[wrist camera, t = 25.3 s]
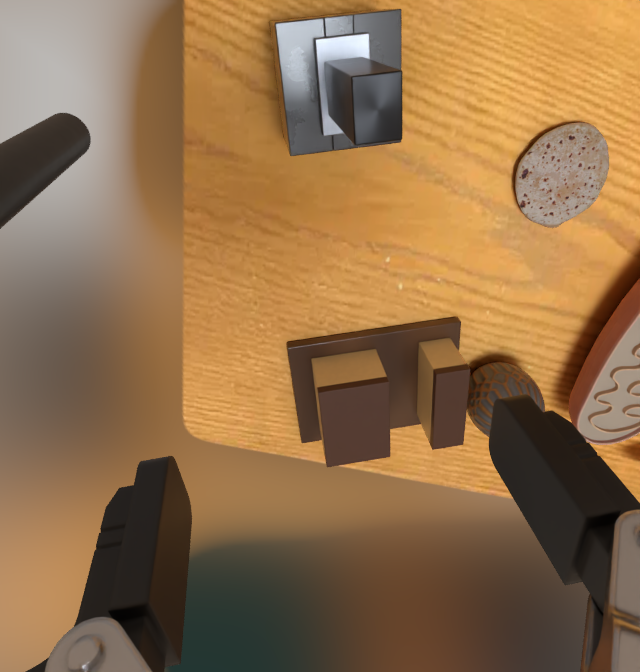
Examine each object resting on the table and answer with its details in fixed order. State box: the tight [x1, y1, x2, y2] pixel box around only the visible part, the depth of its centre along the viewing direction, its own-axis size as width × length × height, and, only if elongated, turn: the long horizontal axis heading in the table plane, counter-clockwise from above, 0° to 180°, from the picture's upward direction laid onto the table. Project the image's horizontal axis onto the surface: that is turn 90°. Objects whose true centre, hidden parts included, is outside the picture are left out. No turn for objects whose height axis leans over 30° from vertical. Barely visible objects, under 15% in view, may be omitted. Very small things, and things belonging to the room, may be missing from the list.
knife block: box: [269, 9, 401, 156], centre depth 31 cm, size 7×7×6 cm
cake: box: [311, 349, 390, 467], centre depth 46 cm, size 6×9×5 cm, turn 5°
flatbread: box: [515, 122, 609, 228], centre depth 39 cm, size 8×8×1 cm
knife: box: [314, 32, 402, 146], centre depth 27 cm, size 3×5×14 cm, turn 5°
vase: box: [467, 362, 545, 437], centre depth 47 cm, size 7×7×9 cm
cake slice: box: [417, 338, 470, 450], centre depth 46 cm, size 3×9×5 cm, turn 5°
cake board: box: [287, 317, 461, 443], centre depth 48 cm, size 16×12×1 cm
